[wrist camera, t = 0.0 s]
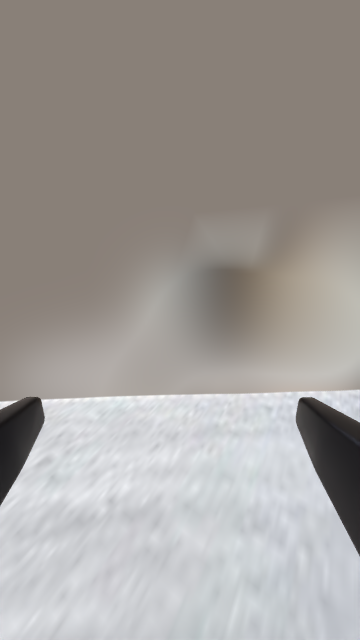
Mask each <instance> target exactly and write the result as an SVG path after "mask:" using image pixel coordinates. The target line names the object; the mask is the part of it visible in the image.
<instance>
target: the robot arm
mask: <svg viewBox="0 0 360 640" xmlns="http://www.w3.org/2000/svg"><path fill="white" fill-rule="evenodd" d="M44 419H45V417H44V412H43V407H42V402H41V399H40V398H38V397H26V398H24V399H22V400H20V401H17V402H15V403H13V404H11V405H9V406H7V407H5V408H3V409H1V410H0V505H1V504H2V502H3V500H4V499H5V497H6V495H7V494H8V492H9V490H10V488H11V487H12V485H13V483H14V482H15V480H16V478H17V477H18V475H19V473H20V471H21V469H22V468H23V466H24V464H25V462H26V460H27V458H28V456H29V453H30V451H31V449H32V447H33V445H34V443H35V441H36V439H37V437H38V434H39V432H40V430H41V428H42V426H43V424H44ZM296 423H297V426H298V429H299V431H300V434H301V436H302V439H303V441H304V444H305V446H306V449H307V451H308V454H309V456H310V459H311V461H312V464H313V466H314V468H315V470H316V472H317V474H318V476H319V478H320V480H321V482H322V484H323V486H324V488H325V490H326V492H327V494H328V496H329V498H330V500H331V502H332V503H333V505H334V507H335V509H336V511H337V513H338V515H339V517H340V519H341V521H342V523H343V525H344V527H345V529H346V531H347V532H348V534H349V536H350V538H351V540H352V542H353V544H354V546H355V548H356V550H357V552H358V554H359V556H360V423H359V422H358V421H356V420H354V419H352V418H350V417H348V416H346V415H344V414H343V413H341V412H339V411H337V410H335V409H333V408H331V407H330V406H328V405H326V404H324V403H322V402H320V401H318V400H317V399H315V398H312V397H302V398H300V399H299V402H298V408H297V413H296Z"/></svg>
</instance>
